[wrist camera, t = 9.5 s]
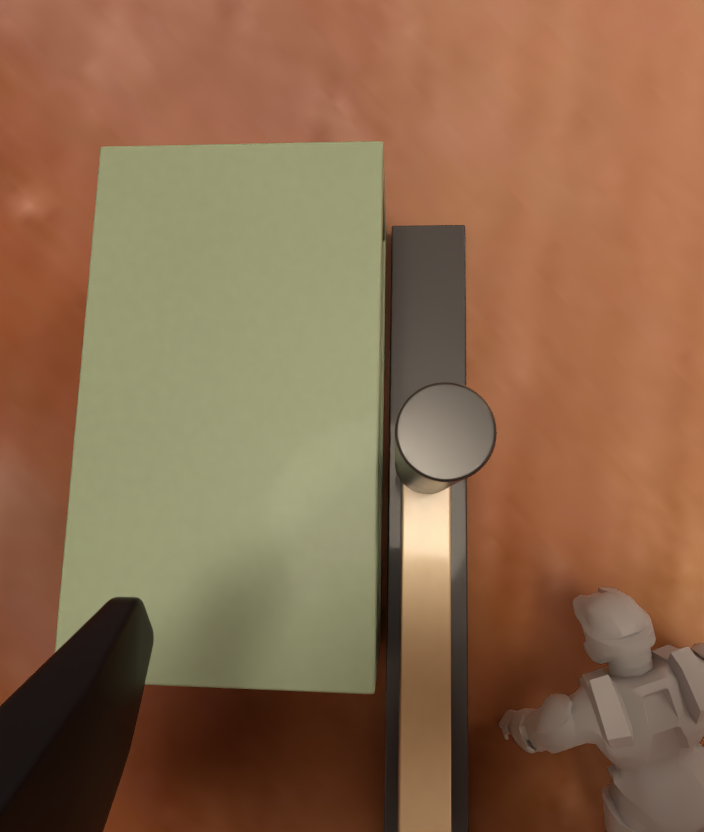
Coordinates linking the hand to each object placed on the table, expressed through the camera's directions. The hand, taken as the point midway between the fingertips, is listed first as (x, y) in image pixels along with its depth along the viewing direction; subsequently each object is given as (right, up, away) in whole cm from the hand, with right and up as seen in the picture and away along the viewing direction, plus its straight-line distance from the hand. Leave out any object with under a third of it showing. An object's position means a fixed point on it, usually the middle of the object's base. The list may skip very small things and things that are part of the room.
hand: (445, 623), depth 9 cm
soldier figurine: (+7, -7, +10) cm, 14 cm away
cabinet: (-3, 0, +12) cm, 12 cm away
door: (+1, -4, +11) cm, 12 cm away
